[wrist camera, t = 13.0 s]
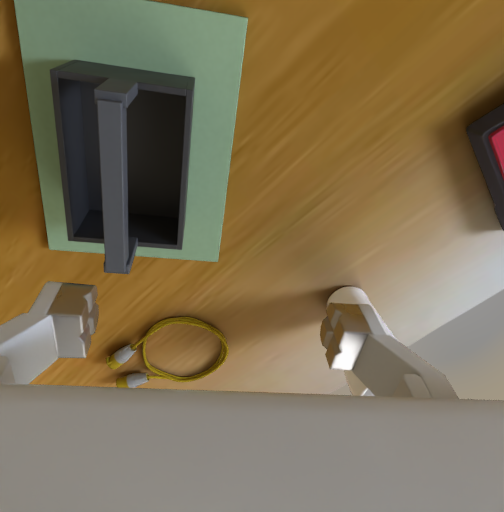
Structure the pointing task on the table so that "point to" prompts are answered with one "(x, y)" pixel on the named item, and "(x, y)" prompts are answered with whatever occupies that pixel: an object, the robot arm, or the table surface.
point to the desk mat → (145, 58)
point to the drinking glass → (359, 297)
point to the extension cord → (141, 378)
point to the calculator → (491, 154)
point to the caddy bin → (123, 156)
